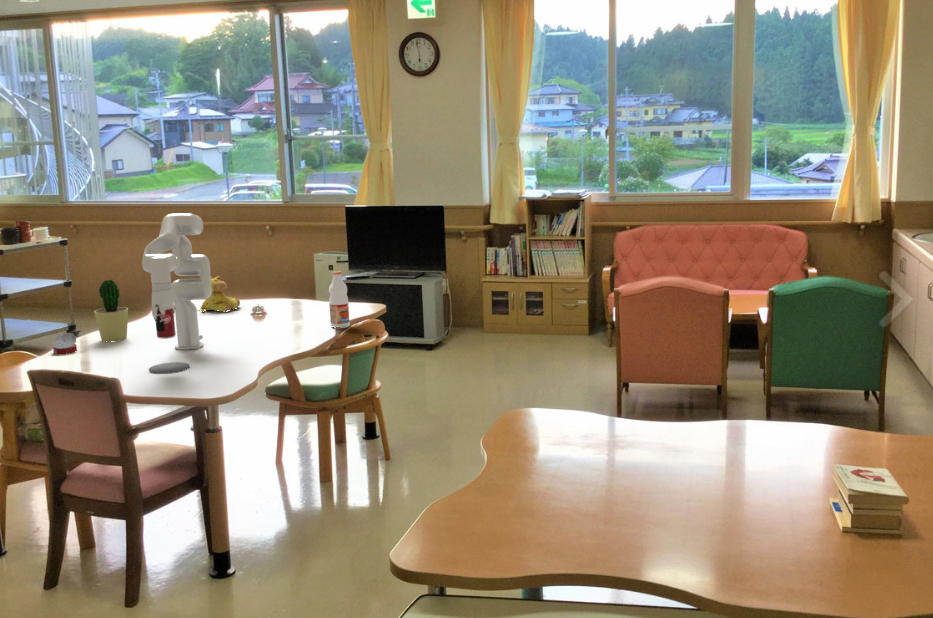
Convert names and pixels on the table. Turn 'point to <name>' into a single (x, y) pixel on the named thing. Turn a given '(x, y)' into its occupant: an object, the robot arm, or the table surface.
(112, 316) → the potted cactus
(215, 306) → the giraffe plush
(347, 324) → the fruit juice
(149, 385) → the table surface
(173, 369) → the charcoal mat
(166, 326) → the soda can
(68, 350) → the snow globe
